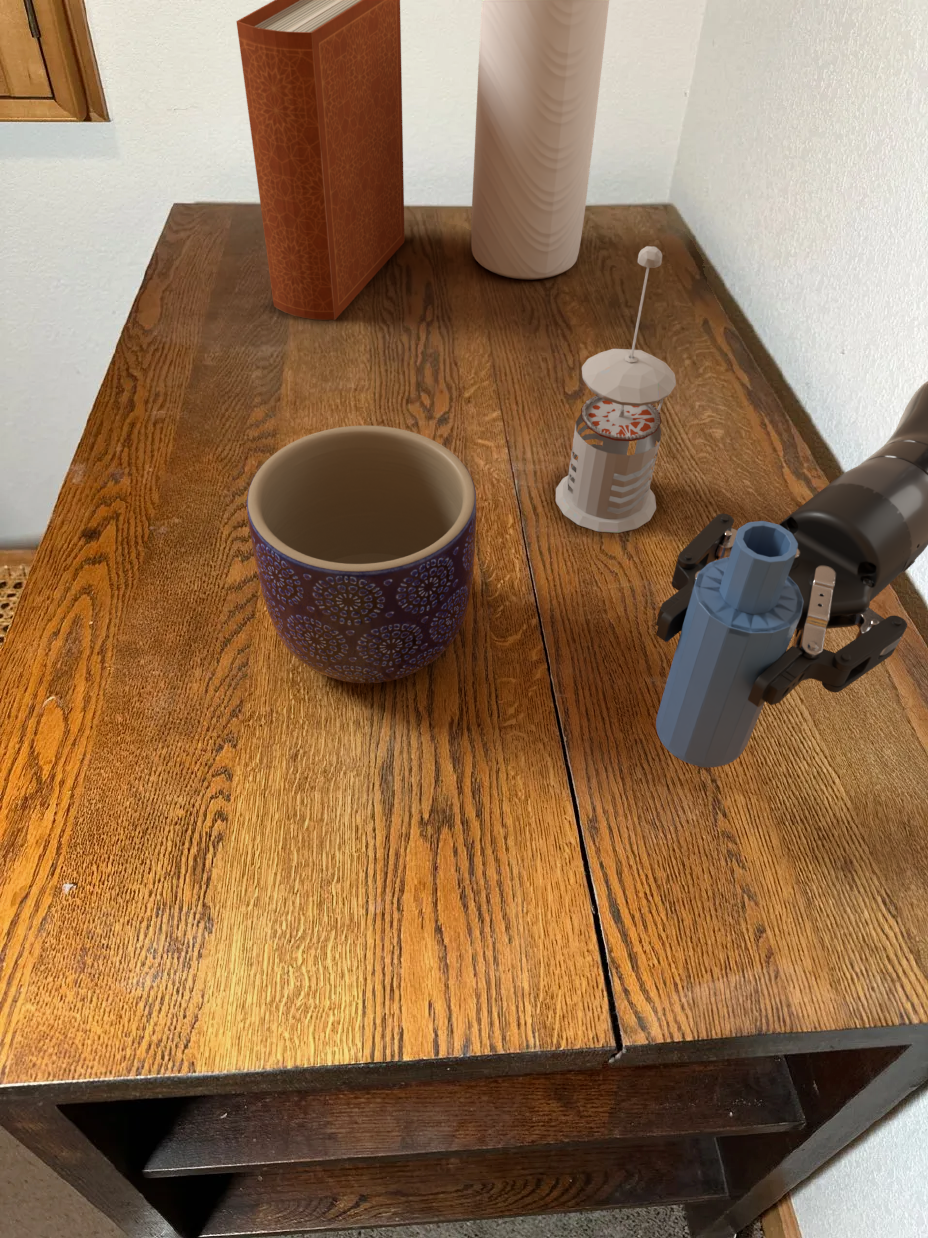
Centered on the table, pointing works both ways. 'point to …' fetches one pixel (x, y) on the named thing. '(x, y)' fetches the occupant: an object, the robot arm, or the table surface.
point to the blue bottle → (729, 646)
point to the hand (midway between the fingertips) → (708, 660)
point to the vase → (534, 132)
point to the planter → (364, 549)
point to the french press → (617, 435)
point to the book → (326, 145)
